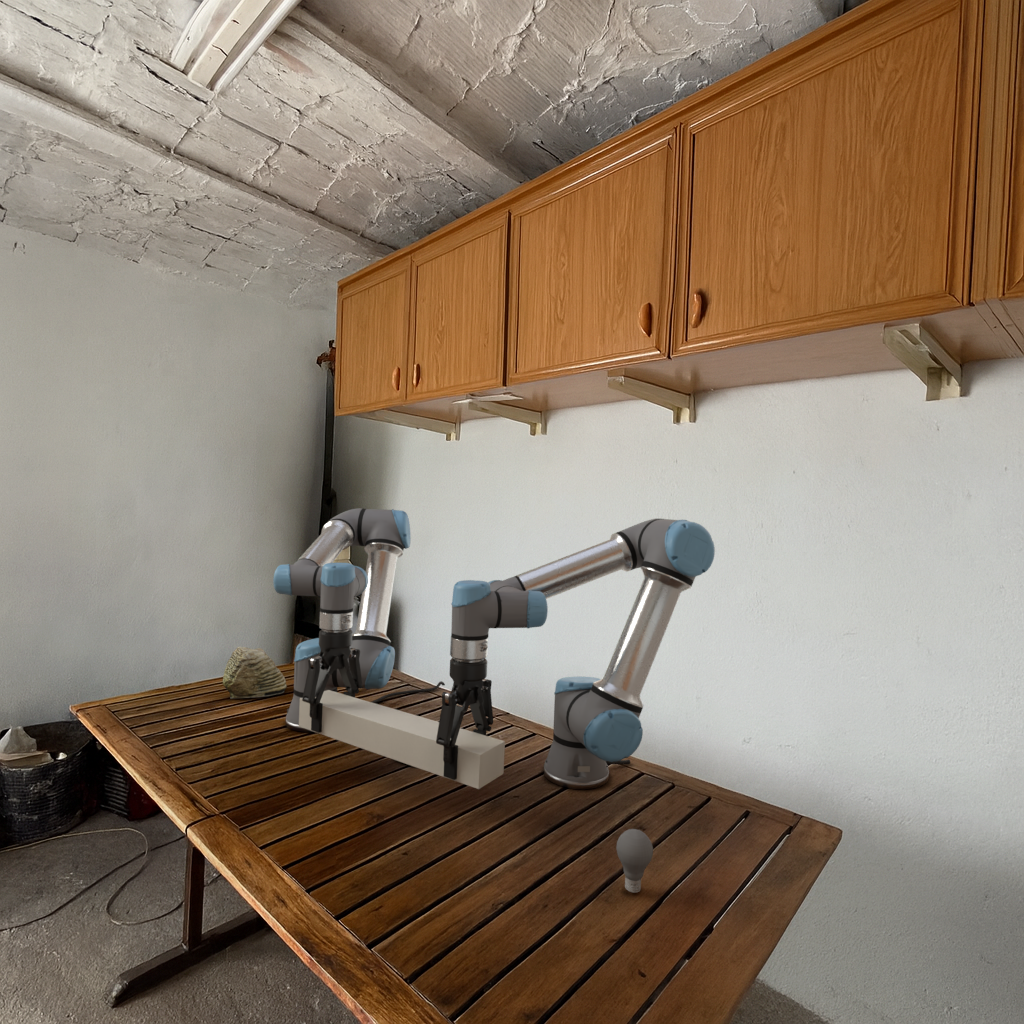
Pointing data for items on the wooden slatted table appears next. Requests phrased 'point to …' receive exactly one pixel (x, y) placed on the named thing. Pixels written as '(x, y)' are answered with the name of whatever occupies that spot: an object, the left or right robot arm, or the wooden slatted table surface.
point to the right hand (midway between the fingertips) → (464, 769)
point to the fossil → (252, 674)
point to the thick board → (406, 738)
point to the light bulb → (634, 857)
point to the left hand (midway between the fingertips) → (332, 725)
